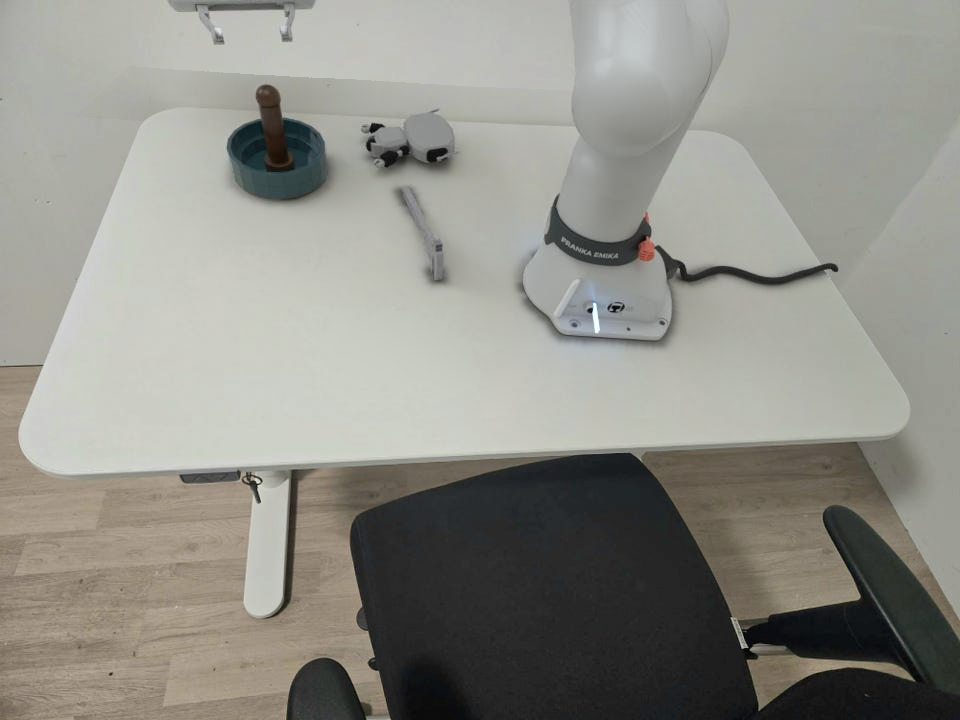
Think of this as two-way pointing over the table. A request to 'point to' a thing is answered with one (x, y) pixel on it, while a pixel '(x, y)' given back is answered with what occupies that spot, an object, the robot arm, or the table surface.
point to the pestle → (273, 130)
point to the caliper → (426, 235)
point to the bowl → (253, 177)
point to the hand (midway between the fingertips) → (253, 42)
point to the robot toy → (411, 139)
